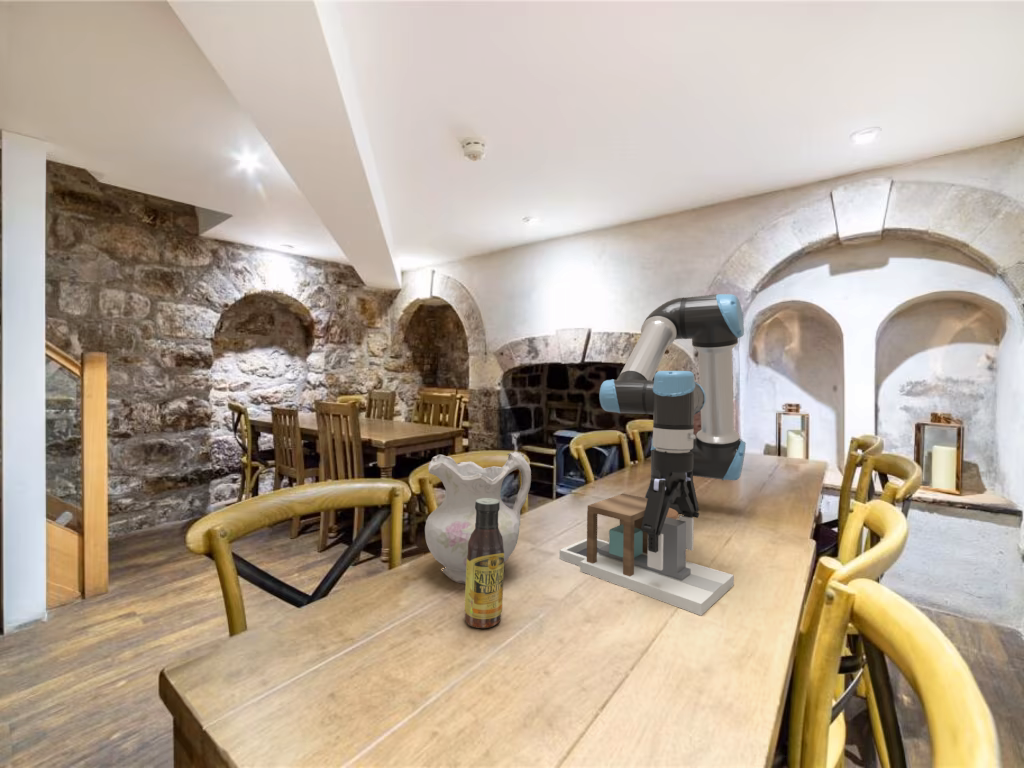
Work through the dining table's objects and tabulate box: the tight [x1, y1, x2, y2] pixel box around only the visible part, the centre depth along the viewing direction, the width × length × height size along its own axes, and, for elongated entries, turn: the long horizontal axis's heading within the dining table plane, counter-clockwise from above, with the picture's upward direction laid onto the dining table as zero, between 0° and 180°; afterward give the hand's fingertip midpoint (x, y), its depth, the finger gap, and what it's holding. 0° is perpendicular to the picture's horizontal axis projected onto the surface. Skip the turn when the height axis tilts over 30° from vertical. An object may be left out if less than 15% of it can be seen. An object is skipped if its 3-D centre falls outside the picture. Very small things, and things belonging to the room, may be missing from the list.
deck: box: [559, 537, 735, 616], centre depth 94 cm, size 16×32×2 cm, turn 46°
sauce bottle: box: [464, 498, 505, 629], centre depth 75 cm, size 6×6×20 cm
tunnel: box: [586, 493, 648, 577], centre depth 96 cm, size 14×10×12 cm
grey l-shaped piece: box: [598, 517, 691, 580], centre depth 93 cm, size 4×18×10 cm, turn 46°
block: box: [608, 524, 643, 558], centre depth 96 cm, size 5×5×5 cm
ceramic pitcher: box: [424, 450, 532, 585], centre depth 94 cm, size 22×20×25 cm
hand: (671, 557), depth 89 cm, fingers open, 13 cm apart
